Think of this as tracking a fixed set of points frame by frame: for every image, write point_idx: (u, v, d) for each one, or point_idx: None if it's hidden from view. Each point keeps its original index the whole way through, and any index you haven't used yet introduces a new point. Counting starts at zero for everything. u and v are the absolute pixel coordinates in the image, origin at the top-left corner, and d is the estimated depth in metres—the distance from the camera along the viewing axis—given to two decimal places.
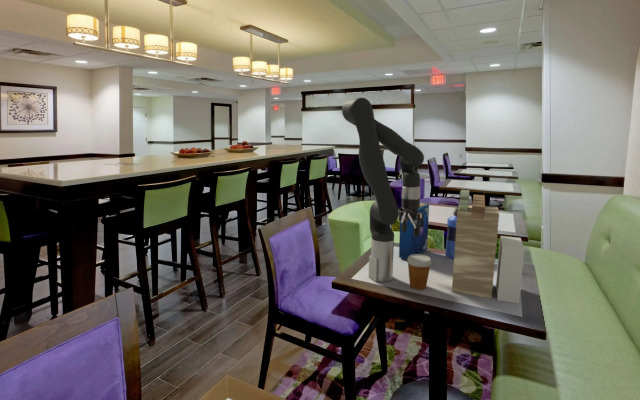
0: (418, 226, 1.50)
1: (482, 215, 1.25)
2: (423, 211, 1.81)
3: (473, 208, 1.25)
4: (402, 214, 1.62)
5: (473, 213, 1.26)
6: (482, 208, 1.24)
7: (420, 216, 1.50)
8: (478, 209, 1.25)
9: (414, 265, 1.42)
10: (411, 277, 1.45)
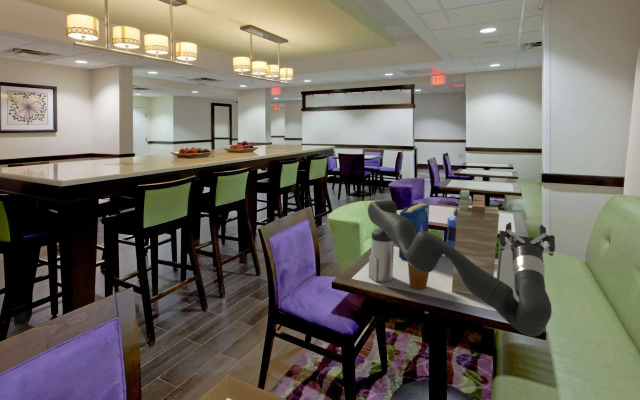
0: None
1: (482, 215, 1.25)
2: (423, 211, 1.81)
3: (473, 208, 1.25)
4: None
5: (473, 213, 1.26)
6: (482, 208, 1.24)
7: None
8: (478, 209, 1.25)
9: None
10: (411, 277, 1.45)
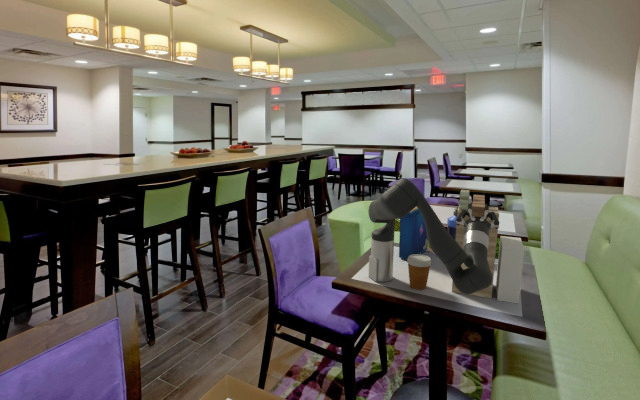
0: None
1: None
2: None
3: (473, 208, 1.25)
4: (462, 217, 1.28)
5: (473, 213, 1.26)
6: (482, 208, 1.24)
7: None
8: (478, 209, 1.25)
9: (414, 265, 1.43)
10: (411, 277, 1.45)
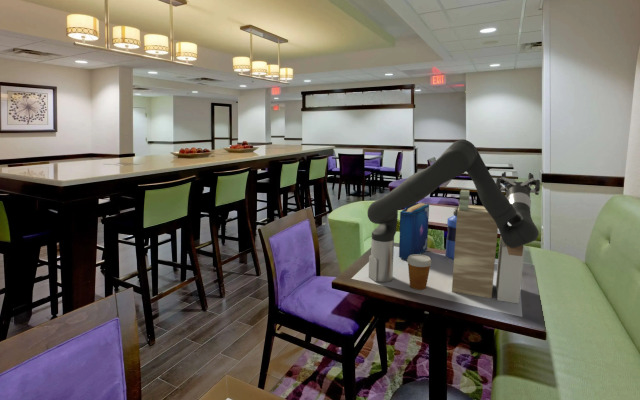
0: None
1: (521, 252, 1.22)
2: (423, 211, 1.81)
3: None
4: None
5: (511, 250, 1.23)
6: None
7: (539, 190, 1.32)
8: None
9: (414, 265, 1.43)
10: (411, 277, 1.45)
